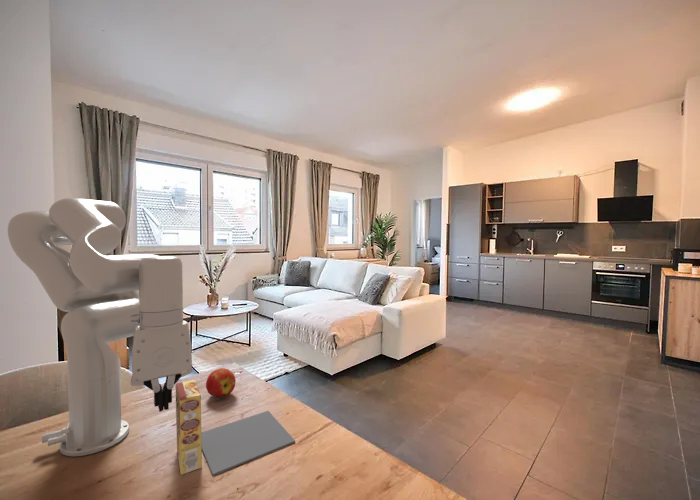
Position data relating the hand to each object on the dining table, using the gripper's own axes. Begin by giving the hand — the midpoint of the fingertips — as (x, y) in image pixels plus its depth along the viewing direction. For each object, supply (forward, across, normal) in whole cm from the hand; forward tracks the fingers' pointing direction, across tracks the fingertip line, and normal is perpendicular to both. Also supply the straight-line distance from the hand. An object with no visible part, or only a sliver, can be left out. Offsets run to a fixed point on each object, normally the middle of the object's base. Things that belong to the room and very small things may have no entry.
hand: (163, 407), depth 65 cm
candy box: (+13, +4, 0) cm, 14 cm away
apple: (+13, +17, +26) cm, 33 cm away
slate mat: (+13, +16, 0) cm, 21 cm away
